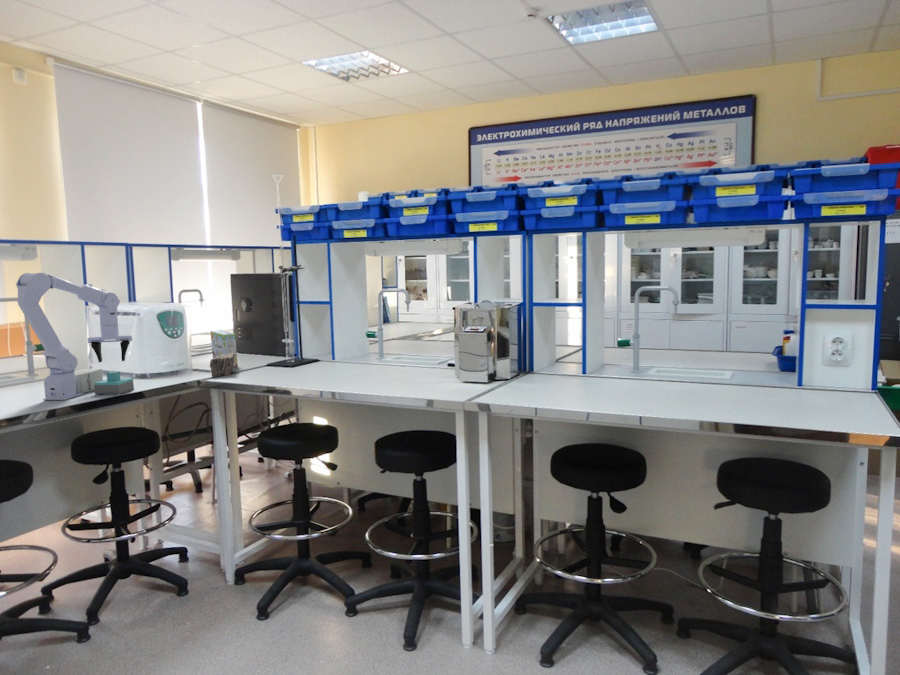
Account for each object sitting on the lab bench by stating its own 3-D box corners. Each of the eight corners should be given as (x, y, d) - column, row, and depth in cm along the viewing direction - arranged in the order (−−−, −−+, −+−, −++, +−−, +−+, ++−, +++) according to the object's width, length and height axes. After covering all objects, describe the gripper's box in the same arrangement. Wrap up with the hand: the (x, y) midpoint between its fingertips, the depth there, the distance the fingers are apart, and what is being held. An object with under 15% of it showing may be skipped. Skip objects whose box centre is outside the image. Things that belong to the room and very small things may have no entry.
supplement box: (104, 387, 238) (79, 395, 226) (87, 387, 240) (61, 394, 227) (103, 368, 237) (77, 375, 225) (85, 367, 239) (59, 374, 226)
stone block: (233, 376, 259) (232, 357, 258) (210, 376, 259) (209, 358, 258) (241, 370, 273) (240, 352, 272) (220, 370, 273) (219, 353, 272)
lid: (118, 386, 224) (117, 374, 223) (94, 386, 225) (93, 374, 224) (133, 381, 233) (132, 370, 232) (110, 382, 233) (109, 370, 233)
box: (119, 394, 224) (118, 385, 224) (95, 394, 225) (94, 385, 224) (133, 389, 233) (133, 380, 233) (110, 389, 234) (110, 380, 233)
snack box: (211, 362, 297) (209, 330, 296) (223, 361, 301) (222, 329, 299) (225, 367, 280) (223, 334, 279) (238, 366, 284) (236, 333, 282)
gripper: (132, 323, 240) (135, 358, 242) (89, 324, 236) (92, 361, 237) (129, 324, 233) (132, 361, 235) (85, 326, 229) (88, 363, 230)
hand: (111, 361), depth 236 cm, fingers open, 7 cm apart
